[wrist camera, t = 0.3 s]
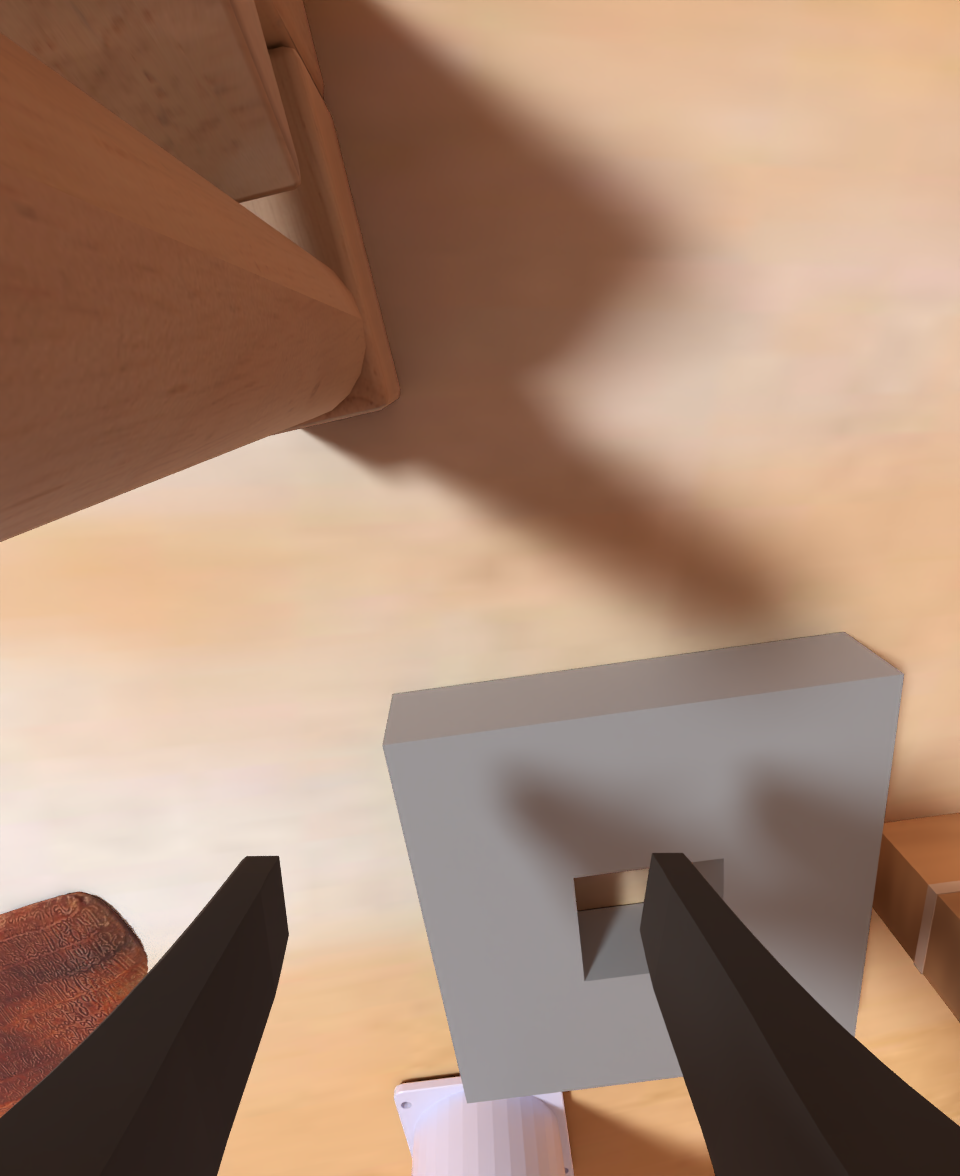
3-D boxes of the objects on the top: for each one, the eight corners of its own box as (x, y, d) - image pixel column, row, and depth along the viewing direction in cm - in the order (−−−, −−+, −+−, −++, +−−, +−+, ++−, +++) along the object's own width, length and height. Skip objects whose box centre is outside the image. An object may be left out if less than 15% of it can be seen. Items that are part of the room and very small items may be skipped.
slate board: (811, 983, 27) (852, 1055, 24) (466, 1027, 28) (467, 1103, 25) (844, 631, 21) (904, 673, 18) (392, 693, 21) (382, 745, 18)
